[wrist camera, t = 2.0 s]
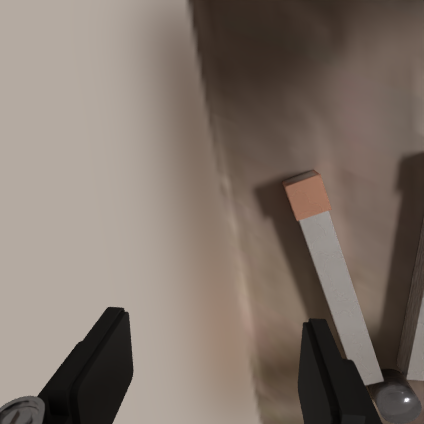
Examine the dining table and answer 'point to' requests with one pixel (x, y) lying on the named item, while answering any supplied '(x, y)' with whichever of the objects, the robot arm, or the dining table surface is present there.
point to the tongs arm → (332, 271)
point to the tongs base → (406, 356)
